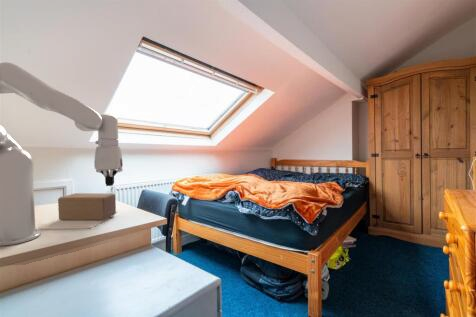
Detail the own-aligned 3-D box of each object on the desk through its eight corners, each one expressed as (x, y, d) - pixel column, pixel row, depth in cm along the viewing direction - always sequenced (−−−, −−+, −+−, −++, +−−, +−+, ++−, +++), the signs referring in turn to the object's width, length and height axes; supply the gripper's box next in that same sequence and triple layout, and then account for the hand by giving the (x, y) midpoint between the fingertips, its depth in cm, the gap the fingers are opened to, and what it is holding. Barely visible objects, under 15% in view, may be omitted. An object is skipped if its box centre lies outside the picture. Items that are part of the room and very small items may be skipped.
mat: (38, 229, 89) (38, 228, 89) (74, 213, 111) (74, 212, 111) (92, 228, 90) (91, 226, 90) (117, 212, 112) (117, 211, 112)
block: (116, 193, 106) (74, 193, 107) (102, 197, 96) (56, 197, 97) (116, 214, 107) (75, 214, 108) (103, 221, 97) (57, 220, 98)
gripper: (85, 143, 95) (87, 187, 96) (122, 143, 96) (123, 186, 97) (95, 143, 103) (96, 184, 104) (129, 143, 104) (130, 183, 105)
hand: (109, 185), depth 101 cm, fingers closed
